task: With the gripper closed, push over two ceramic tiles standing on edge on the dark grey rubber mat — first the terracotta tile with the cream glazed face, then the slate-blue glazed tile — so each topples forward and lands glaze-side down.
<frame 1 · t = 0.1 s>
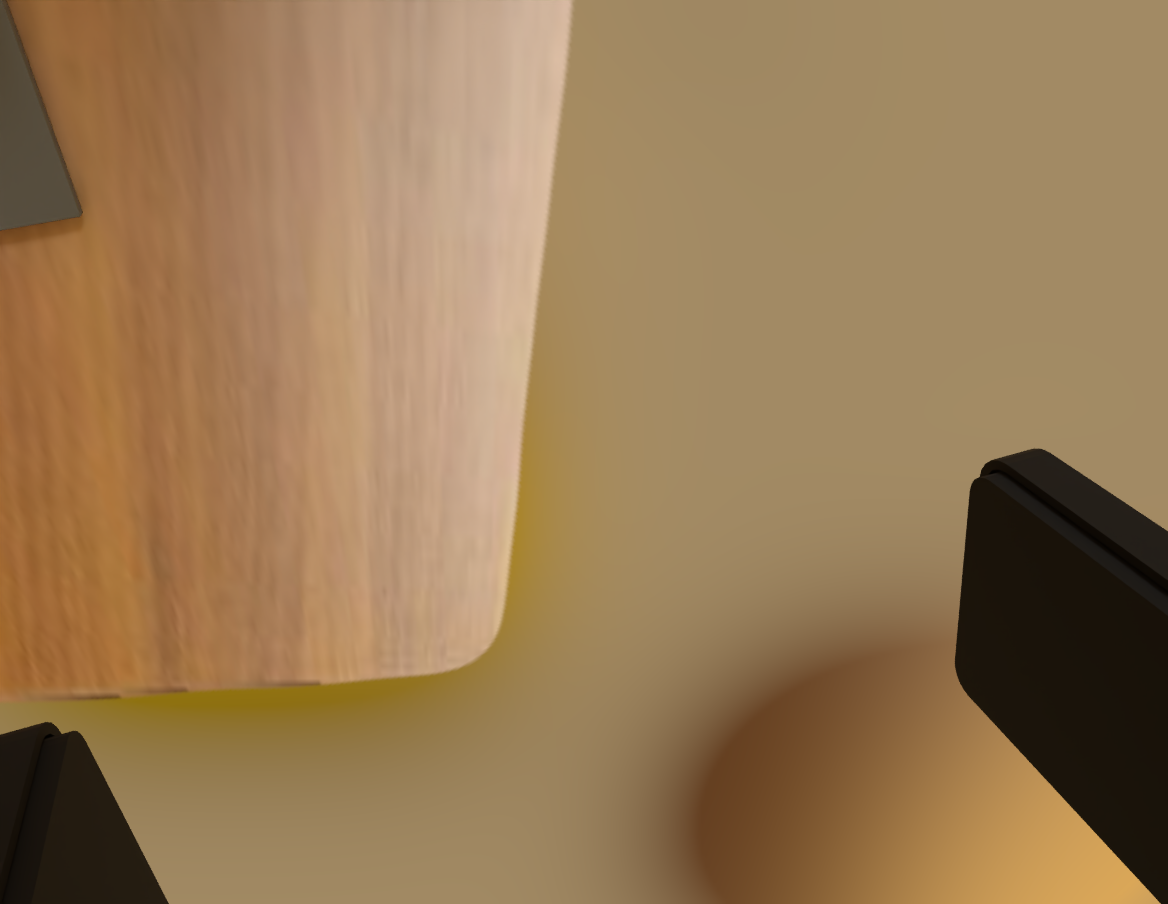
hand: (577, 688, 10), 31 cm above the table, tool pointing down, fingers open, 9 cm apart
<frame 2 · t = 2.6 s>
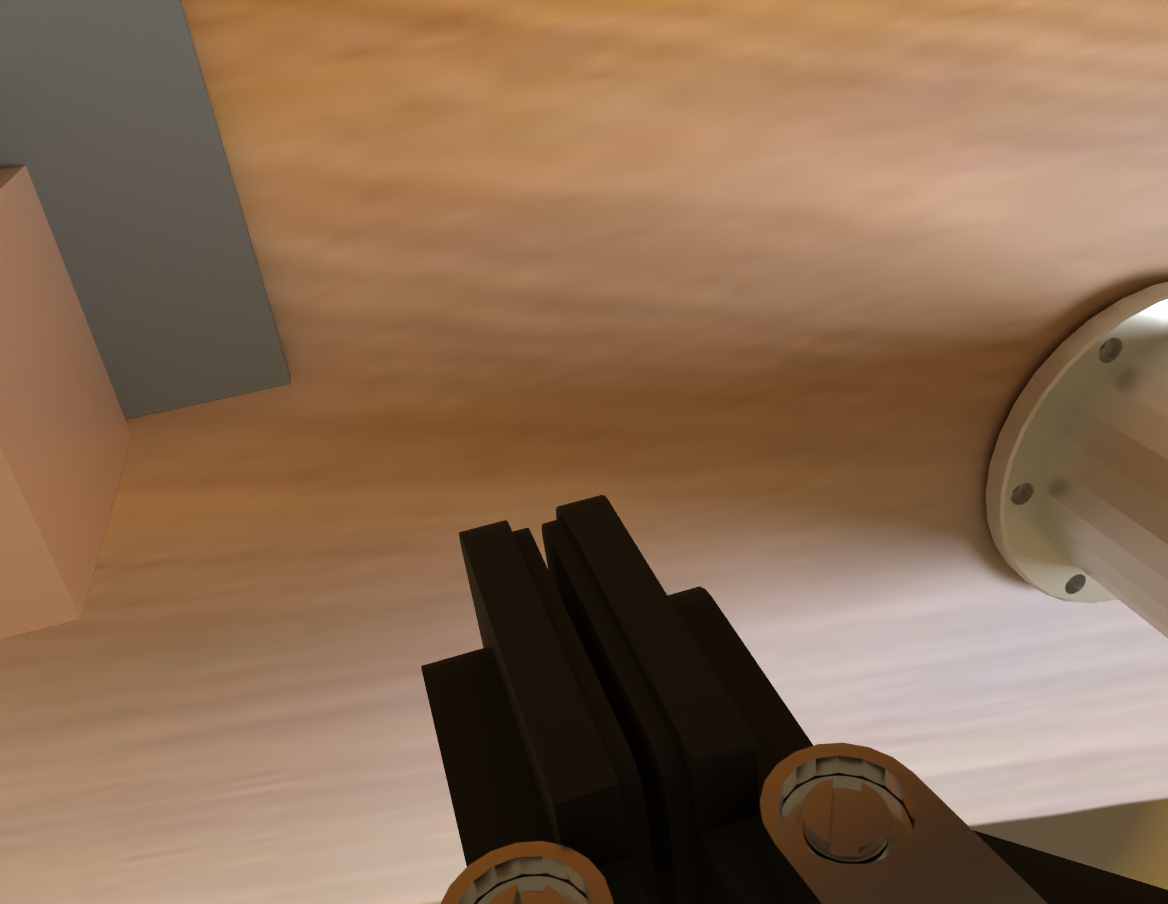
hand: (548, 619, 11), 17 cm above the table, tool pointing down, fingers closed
tile terracotta: (47, 317, 24), point 1 cm above the table, touching mat
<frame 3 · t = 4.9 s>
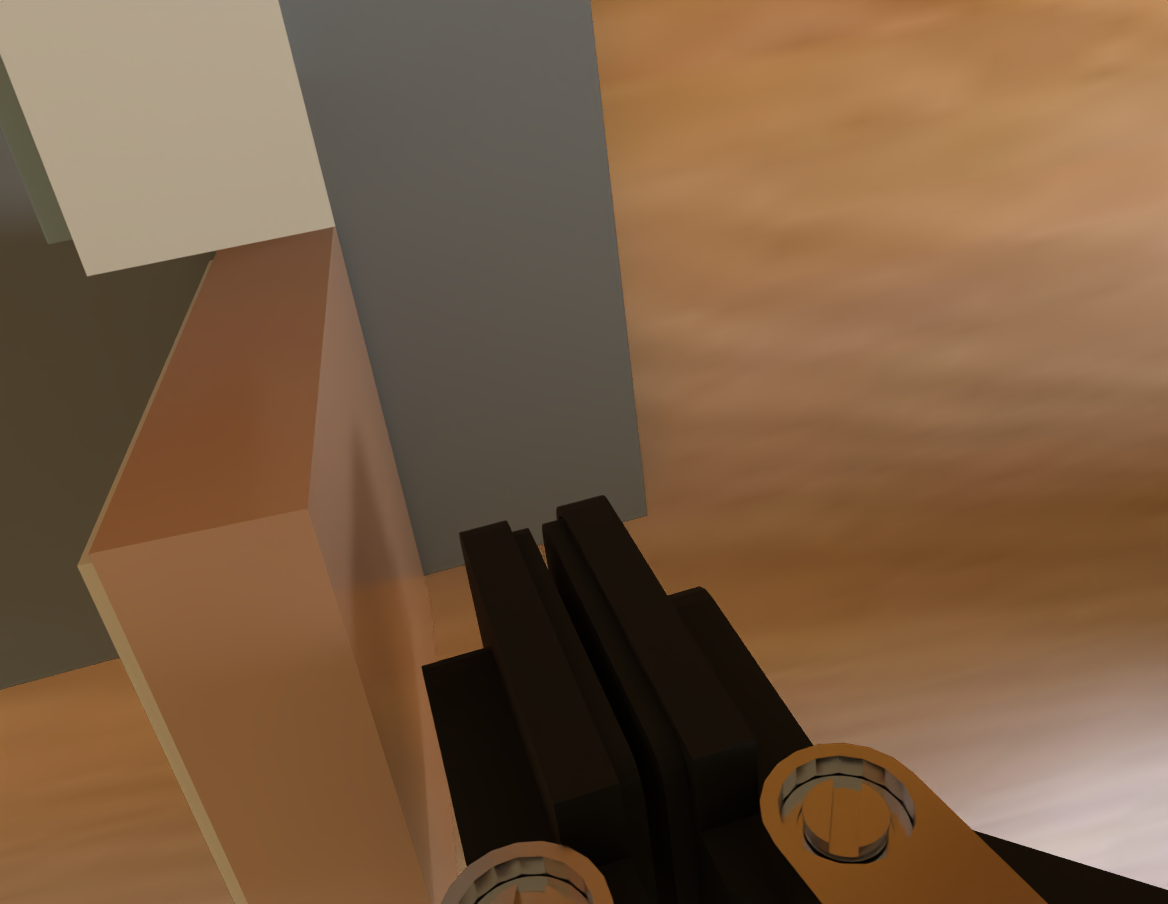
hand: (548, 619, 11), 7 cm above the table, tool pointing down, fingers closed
tile terracotta: (338, 441, 16), point 1 cm above the table, tilted 5°, touching gripper, mat
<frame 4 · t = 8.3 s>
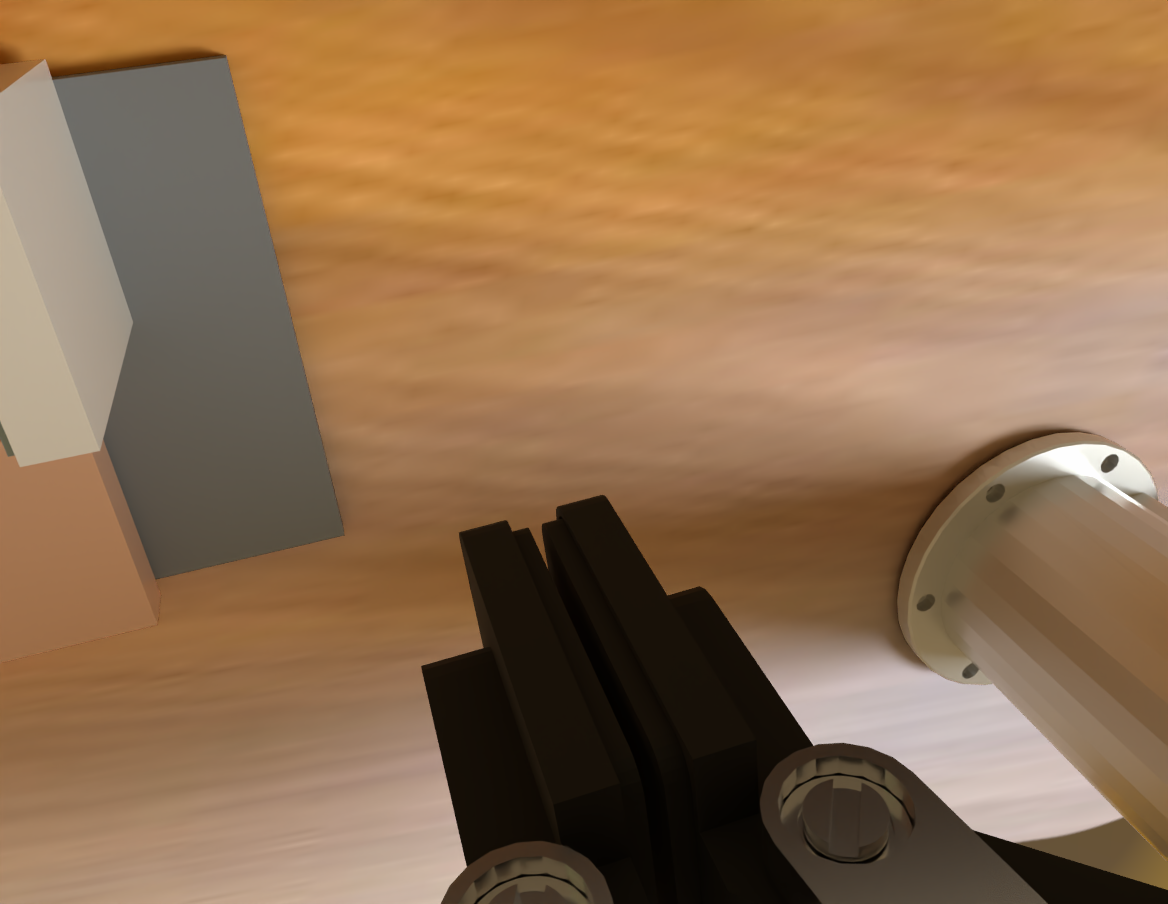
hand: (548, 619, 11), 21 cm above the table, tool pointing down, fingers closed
tile terracotta: (124, 517, 30), point 2 cm above the table, tilted 90°, touching mat
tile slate: (59, 204, 26), point 1 cm above the table, touching mat
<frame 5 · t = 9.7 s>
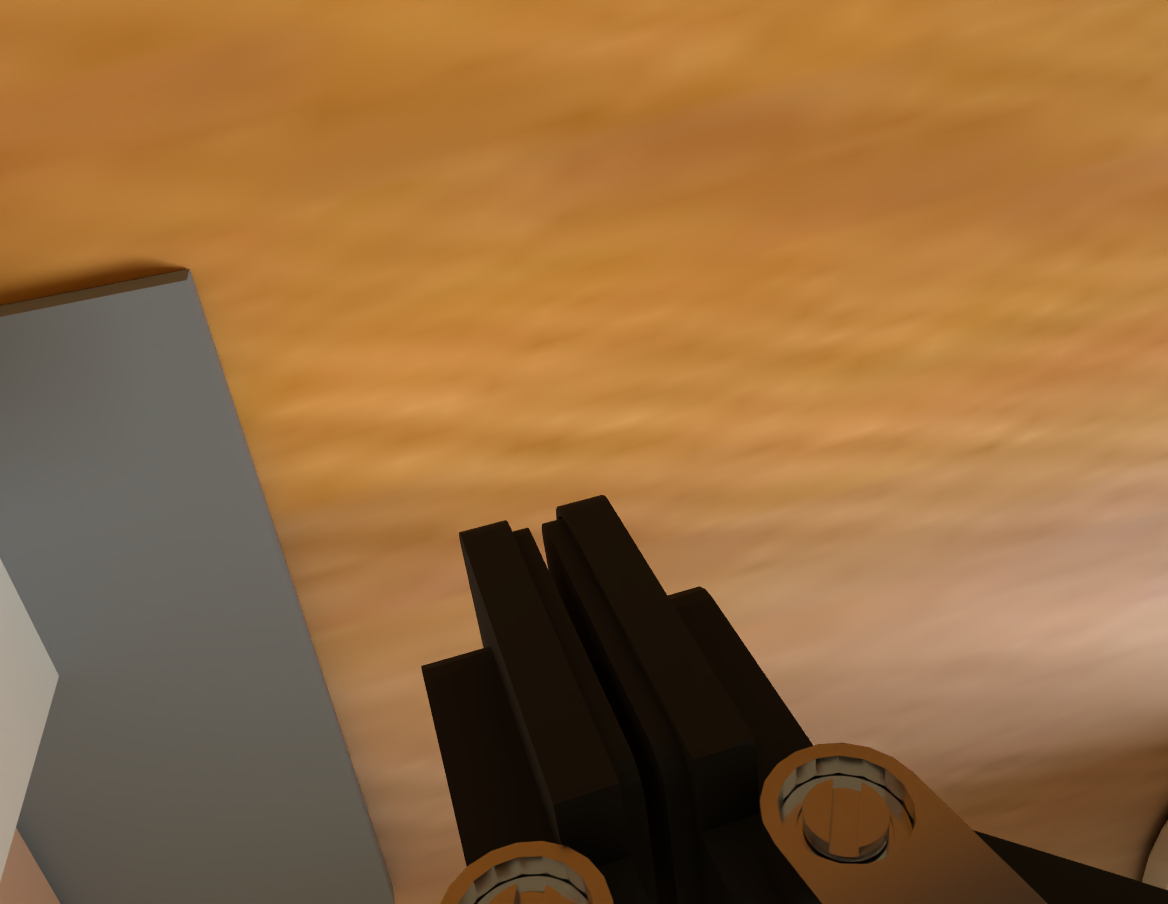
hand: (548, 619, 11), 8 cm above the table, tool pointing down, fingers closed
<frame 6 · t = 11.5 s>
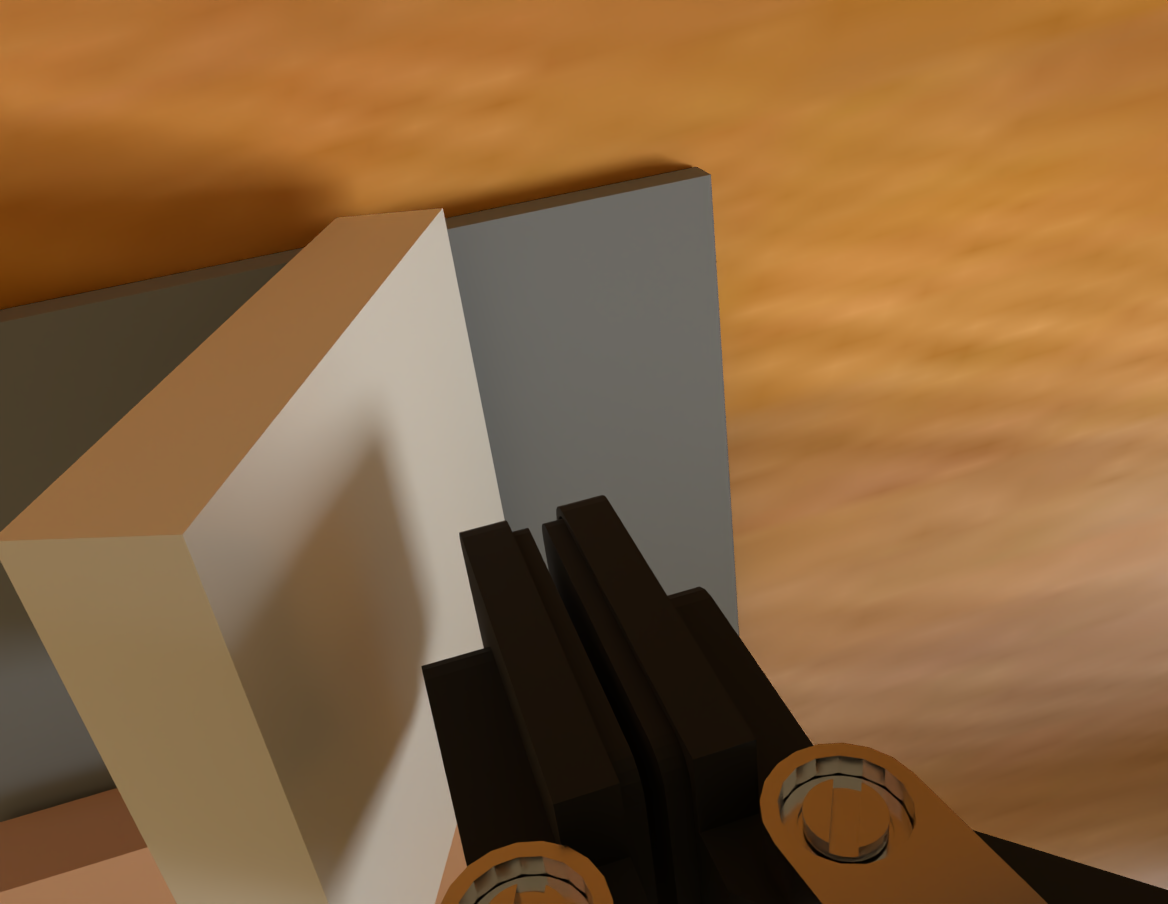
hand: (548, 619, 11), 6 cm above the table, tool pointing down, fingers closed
mat: (267, 669, 18), on the table
tile terracotta: (486, 848, 20), point 2 cm above the table, tilted 90°, touching mat
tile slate: (437, 425, 16), point 1 cm above the table, tilted 23°, touching mat
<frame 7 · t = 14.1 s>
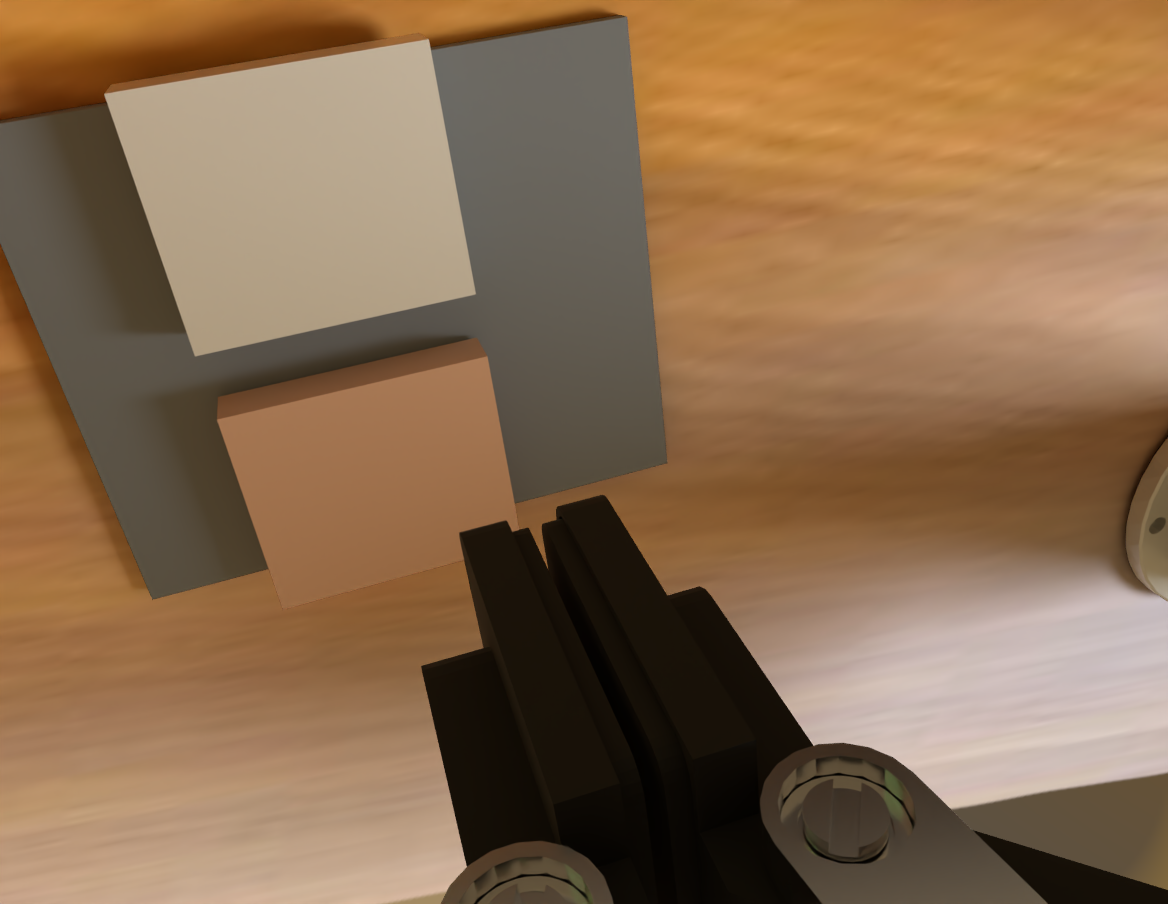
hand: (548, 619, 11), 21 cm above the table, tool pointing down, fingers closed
mat: (372, 320, 31), on the table
tile terracotta: (500, 444, 33), point 2 cm above the table, tilted 90°, touching mat
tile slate: (448, 168, 28), point 2 cm above the table, tilted 90°, touching mat
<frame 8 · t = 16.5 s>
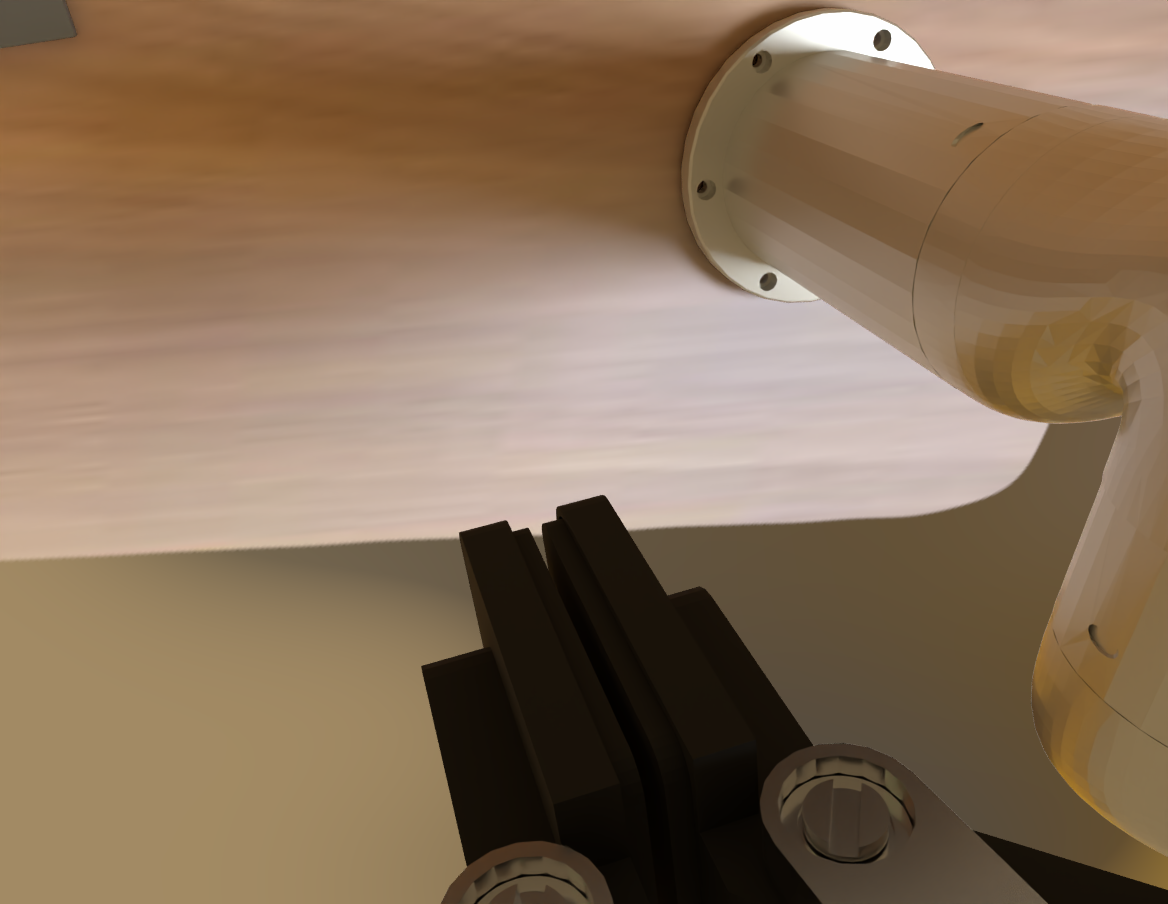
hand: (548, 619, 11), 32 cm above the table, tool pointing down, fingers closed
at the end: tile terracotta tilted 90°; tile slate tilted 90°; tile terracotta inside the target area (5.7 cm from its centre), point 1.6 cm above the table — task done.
